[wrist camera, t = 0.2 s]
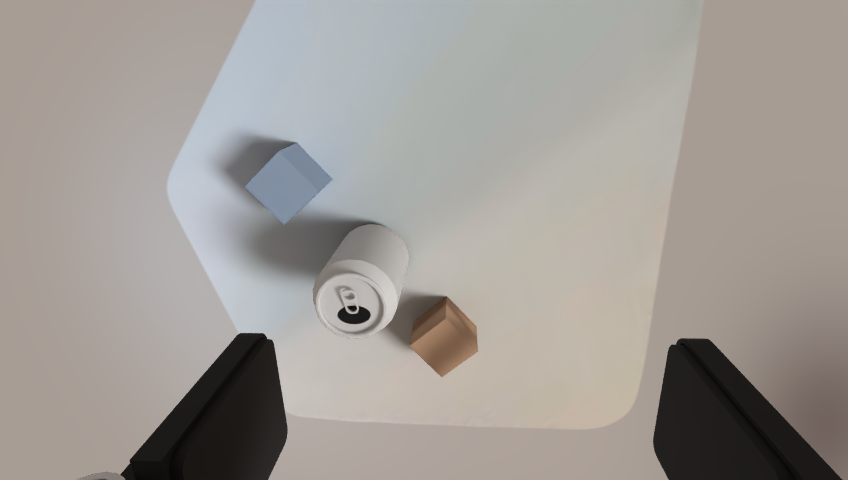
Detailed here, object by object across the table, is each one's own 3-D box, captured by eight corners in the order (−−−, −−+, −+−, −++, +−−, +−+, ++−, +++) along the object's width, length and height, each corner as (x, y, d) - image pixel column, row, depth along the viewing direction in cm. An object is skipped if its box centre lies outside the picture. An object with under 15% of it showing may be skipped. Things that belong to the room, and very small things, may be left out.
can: (346, 287, 51) (315, 348, 40) (336, 223, 49) (298, 270, 38) (413, 283, 50) (399, 345, 39) (405, 219, 48) (389, 264, 37)
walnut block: (414, 321, 52) (409, 346, 48) (446, 295, 51) (445, 318, 46) (443, 350, 53) (441, 377, 49) (476, 326, 52) (477, 351, 47)
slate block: (265, 175, 48) (244, 186, 43) (297, 142, 46) (278, 150, 41) (301, 209, 49) (283, 224, 44) (332, 179, 47) (318, 191, 42)
